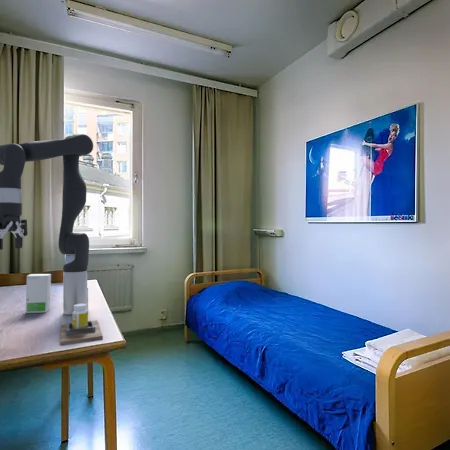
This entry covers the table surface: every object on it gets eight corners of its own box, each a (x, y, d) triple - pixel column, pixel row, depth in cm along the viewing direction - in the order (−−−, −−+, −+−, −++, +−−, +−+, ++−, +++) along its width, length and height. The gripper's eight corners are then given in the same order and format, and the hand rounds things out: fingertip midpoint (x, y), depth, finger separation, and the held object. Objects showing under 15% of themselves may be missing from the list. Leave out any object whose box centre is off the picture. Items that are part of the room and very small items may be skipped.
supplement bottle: (90, 327, 114) (90, 303, 114) (84, 332, 109) (84, 306, 109) (75, 328, 114) (75, 303, 114) (69, 332, 109) (69, 306, 109)
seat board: (61, 327, 118) (61, 320, 118) (97, 322, 123) (97, 316, 123) (60, 345, 100) (60, 336, 100) (102, 339, 105) (102, 331, 105)
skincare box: (25, 313, 137) (25, 276, 138) (29, 310, 144) (29, 273, 144) (47, 312, 140) (47, 275, 140) (51, 308, 146) (51, 273, 146)
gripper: (2, 200, 107) (2, 250, 107) (33, 203, 121) (33, 247, 121) (-19, 200, 109) (-19, 250, 108) (15, 203, 123) (15, 247, 122)
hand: (9, 249), depth 115 cm, fingers open, 8 cm apart
